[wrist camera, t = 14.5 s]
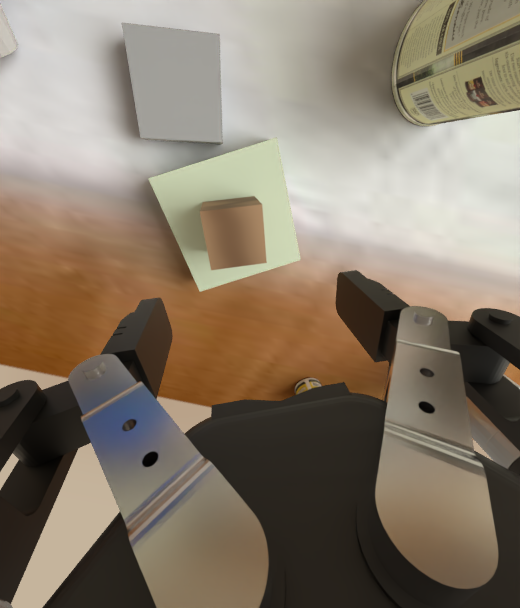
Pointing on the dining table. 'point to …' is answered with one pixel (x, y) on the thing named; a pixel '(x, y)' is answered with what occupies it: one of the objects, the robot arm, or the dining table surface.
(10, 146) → the dining table surface
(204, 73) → the slate block
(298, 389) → the supplement bottle
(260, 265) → the sage block
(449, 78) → the coffee can
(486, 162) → the dining table surface
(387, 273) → the dining table surface
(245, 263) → the walnut cube
